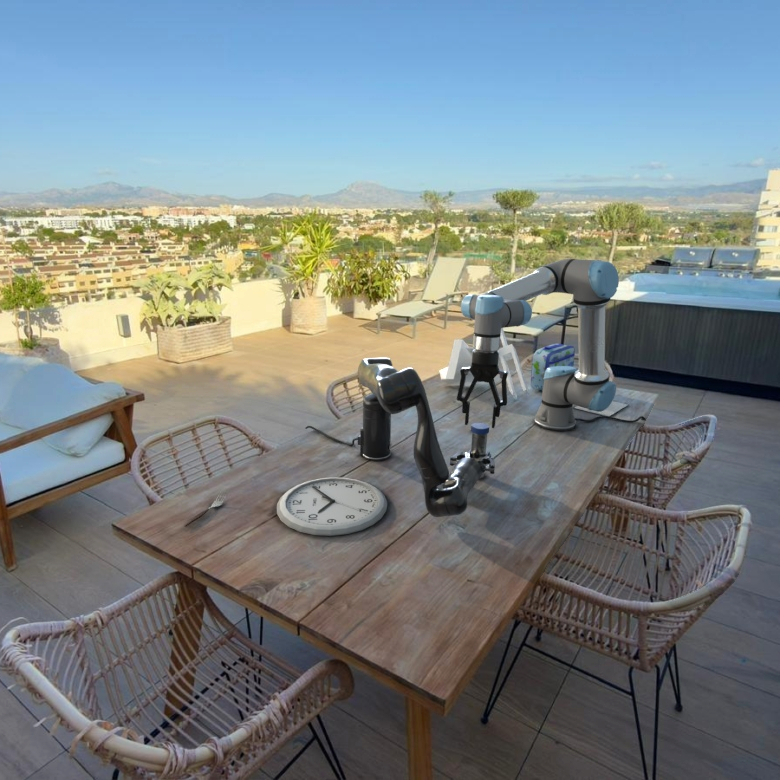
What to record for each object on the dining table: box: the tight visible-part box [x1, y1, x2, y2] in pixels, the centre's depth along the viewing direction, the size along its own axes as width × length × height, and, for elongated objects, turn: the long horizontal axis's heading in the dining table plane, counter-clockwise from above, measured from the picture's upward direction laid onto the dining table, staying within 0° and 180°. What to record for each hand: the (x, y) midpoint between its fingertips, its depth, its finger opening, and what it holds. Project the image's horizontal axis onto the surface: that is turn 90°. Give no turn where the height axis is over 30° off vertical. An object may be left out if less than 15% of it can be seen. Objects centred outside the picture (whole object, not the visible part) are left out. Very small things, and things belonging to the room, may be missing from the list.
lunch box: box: [530, 343, 576, 391], centre depth 249 cm, size 26×11×21 cm, turn 134°
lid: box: [470, 422, 490, 435], centre depth 157 cm, size 5×5×2 cm
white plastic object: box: [438, 328, 531, 400], centre depth 245 cm, size 37×45×31 cm
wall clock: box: [276, 476, 388, 537], centre depth 142 cm, size 30×2×30 cm
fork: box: [184, 492, 228, 527], centre depth 137 cm, size 3×16×2 cm, turn 160°
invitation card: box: [573, 400, 629, 417], centre depth 226 cm, size 21×1×15 cm
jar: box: [470, 431, 488, 480], centre depth 159 cm, size 4×4×16 cm
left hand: (480, 453), depth 162 cm, fingers closed on jar, 4 cm apart
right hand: (479, 424), depth 156 cm, fingers open, 7 cm apart
